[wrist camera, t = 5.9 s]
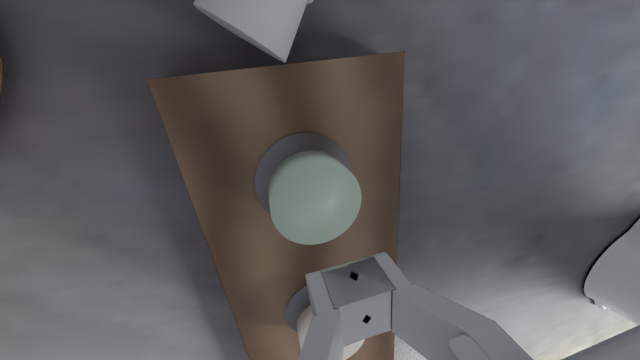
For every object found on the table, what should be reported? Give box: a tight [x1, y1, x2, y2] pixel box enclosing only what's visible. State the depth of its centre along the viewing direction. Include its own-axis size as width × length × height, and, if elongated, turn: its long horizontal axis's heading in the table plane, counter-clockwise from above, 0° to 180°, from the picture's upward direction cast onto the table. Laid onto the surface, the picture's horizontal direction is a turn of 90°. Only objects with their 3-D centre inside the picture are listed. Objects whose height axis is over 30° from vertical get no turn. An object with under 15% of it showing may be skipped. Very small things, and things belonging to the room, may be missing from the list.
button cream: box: [297, 305, 365, 360], centre depth 19 cm, size 5×5×2 cm
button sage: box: [268, 150, 362, 245], centre depth 14 cm, size 5×5×2 cm
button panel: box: [147, 51, 404, 360], centre depth 23 cm, size 14×38×3 cm, turn 6°
